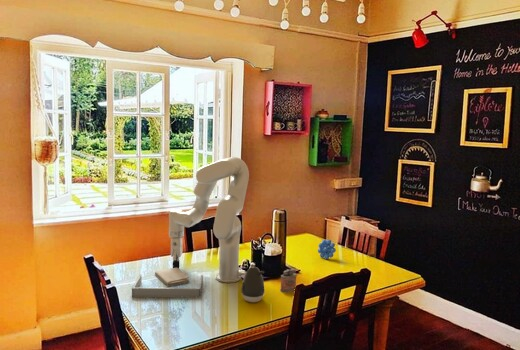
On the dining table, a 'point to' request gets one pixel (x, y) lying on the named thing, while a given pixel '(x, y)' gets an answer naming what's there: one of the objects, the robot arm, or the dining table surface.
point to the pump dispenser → (253, 285)
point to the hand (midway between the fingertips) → (176, 268)
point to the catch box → (165, 291)
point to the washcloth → (172, 276)
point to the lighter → (288, 281)
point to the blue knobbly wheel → (326, 249)
